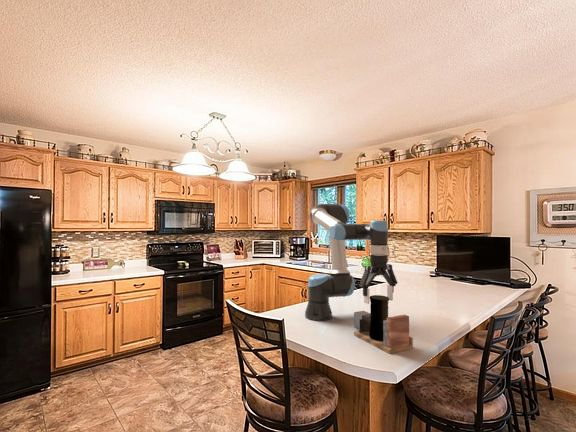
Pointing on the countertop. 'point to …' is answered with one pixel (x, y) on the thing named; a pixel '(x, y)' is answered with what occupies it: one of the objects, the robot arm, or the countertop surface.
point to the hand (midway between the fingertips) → (378, 301)
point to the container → (378, 316)
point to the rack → (391, 335)
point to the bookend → (362, 321)
